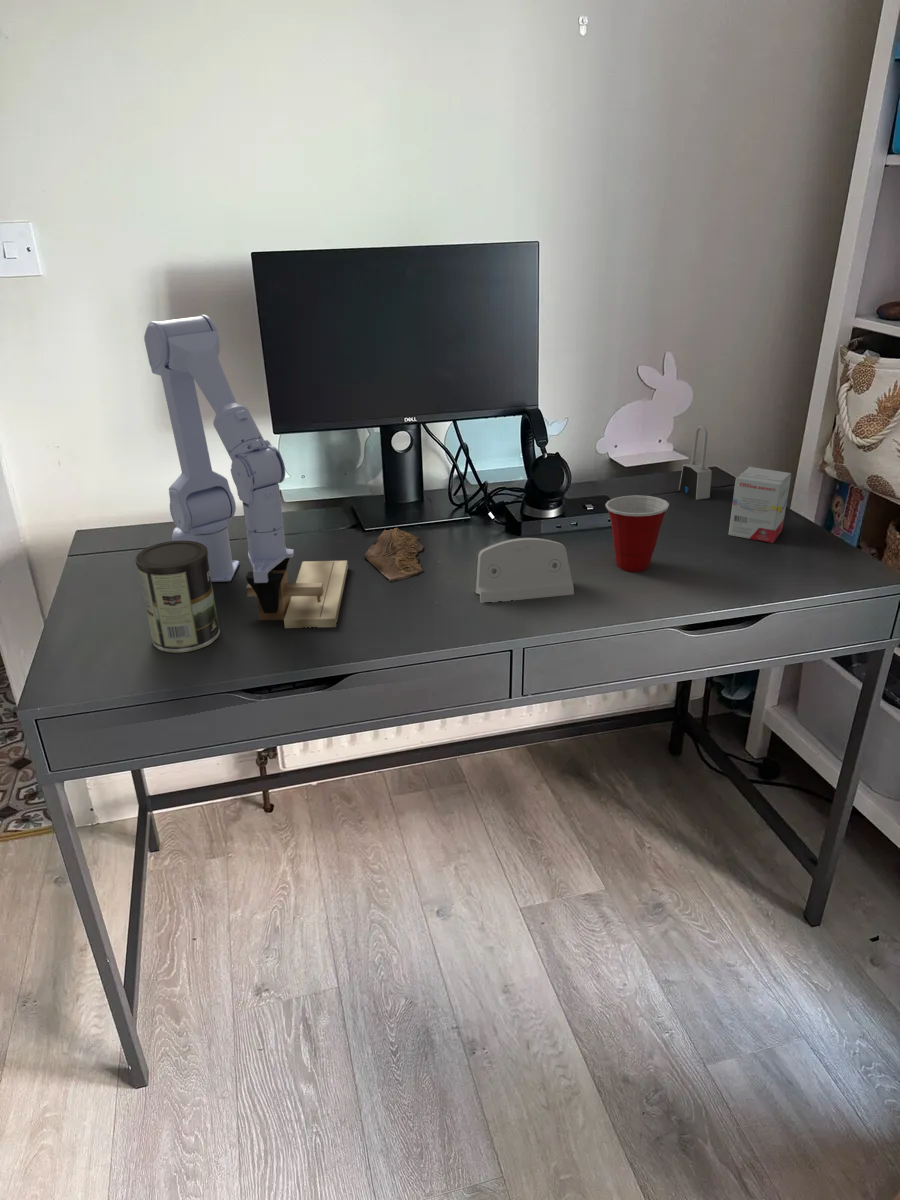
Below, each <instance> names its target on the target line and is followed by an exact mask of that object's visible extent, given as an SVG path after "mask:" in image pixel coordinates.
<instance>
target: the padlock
mask: <svg viewBox="0 0 900 1200" xmlns="http://www.w3.org/2000/svg"><path fill="white" fill-rule="evenodd" d="M700 430H702V432H703V442H702V444H703V445H702V452H701V461H700V462H701V463H699V462H696V455H697V446H698V445H697V444H698V438H699V437H698V436H699V432H700ZM707 445H708V429H706V427H705V426H704V425H698V426H697V427H696V429H695V432H694V439H693V446H692V455H691V460H690V463H685V464H683V465H682V469H681V474H680V480H679V486H678V491H680V492H681V493H682V494H683V495H686V496H687V497H690V498H692V499H694V500H696V501H698V500H702V499H703V500H704V499H705V500H706V499H709V498H710V496H711V487H712V486H711V485H712V484H711V483H712V474H713V473H712V472H713V471H712V470H711V469H710V468H709V467H708V466H706V465H705V463H706V462H705V461H706V454H707Z"/></svg>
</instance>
